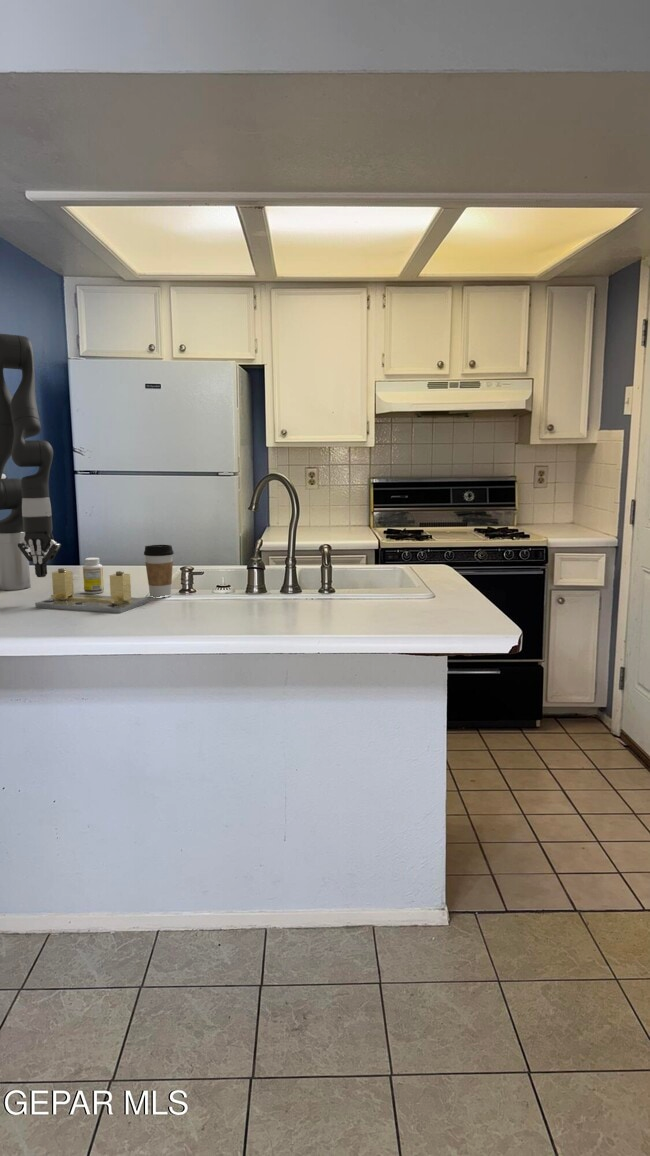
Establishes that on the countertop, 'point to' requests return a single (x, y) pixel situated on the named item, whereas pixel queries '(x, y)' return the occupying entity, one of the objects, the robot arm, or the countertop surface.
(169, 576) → the coffee cup
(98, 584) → the supplement bottle
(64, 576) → the block
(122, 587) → the dividers beam
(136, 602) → the hole plate
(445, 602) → the countertop surface
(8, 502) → the robot arm
